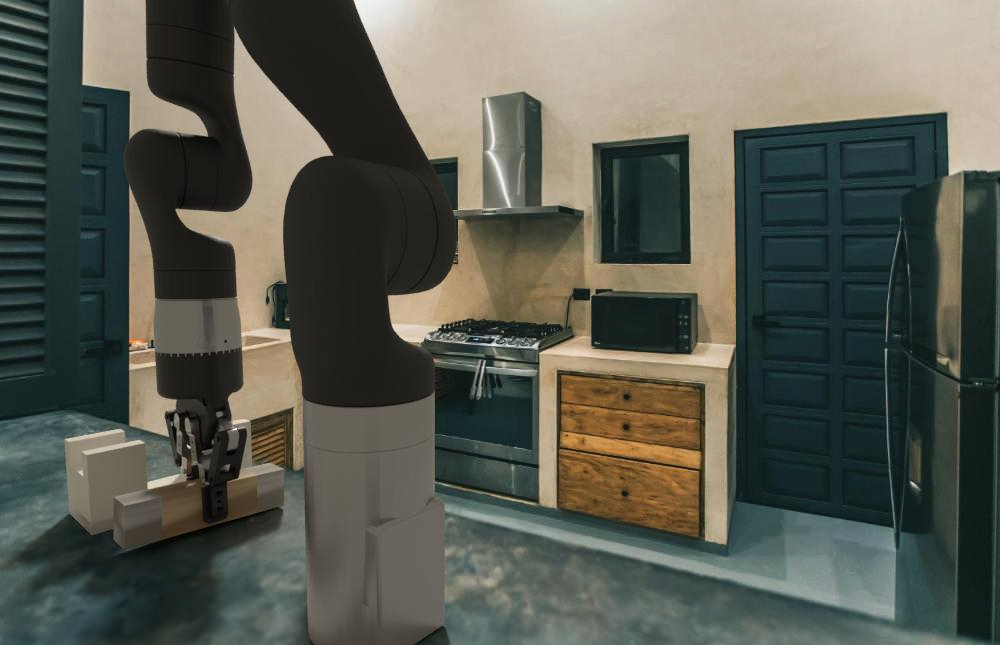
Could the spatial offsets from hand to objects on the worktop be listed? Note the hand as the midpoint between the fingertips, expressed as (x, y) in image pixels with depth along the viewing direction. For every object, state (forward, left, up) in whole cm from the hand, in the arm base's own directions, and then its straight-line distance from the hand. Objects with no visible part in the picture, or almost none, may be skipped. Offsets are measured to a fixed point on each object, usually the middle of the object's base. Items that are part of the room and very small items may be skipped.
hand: (208, 514), depth 57 cm
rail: (0, 0, -1) cm, 1 cm away
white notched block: (+10, 0, -1) cm, 10 cm away
